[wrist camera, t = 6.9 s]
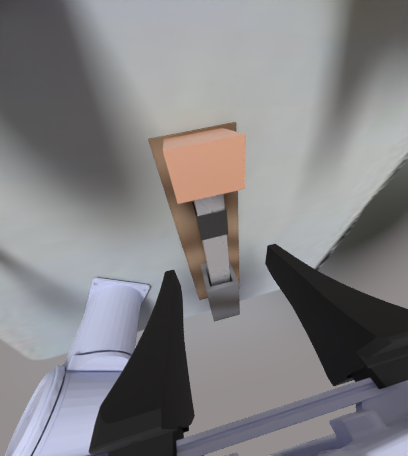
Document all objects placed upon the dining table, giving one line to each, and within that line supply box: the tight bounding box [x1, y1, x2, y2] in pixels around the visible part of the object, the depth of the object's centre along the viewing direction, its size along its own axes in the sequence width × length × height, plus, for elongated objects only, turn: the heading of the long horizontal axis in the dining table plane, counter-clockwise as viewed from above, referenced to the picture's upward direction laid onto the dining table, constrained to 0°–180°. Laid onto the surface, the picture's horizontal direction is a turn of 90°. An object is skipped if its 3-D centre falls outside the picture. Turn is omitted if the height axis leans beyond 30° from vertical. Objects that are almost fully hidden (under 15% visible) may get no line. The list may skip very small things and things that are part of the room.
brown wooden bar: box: [148, 122, 240, 321], centre depth 21 cm, size 28×8×5 cm, turn 9°
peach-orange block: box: [163, 128, 245, 204], centre depth 13 cm, size 4×5×5 cm
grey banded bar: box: [192, 194, 230, 286], centre depth 19 cm, size 19×3×3 cm, turn 9°
